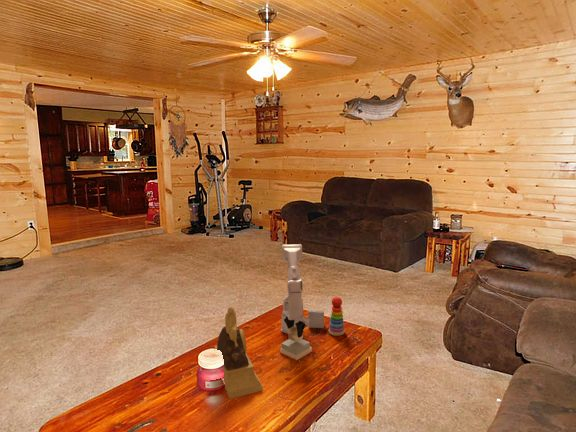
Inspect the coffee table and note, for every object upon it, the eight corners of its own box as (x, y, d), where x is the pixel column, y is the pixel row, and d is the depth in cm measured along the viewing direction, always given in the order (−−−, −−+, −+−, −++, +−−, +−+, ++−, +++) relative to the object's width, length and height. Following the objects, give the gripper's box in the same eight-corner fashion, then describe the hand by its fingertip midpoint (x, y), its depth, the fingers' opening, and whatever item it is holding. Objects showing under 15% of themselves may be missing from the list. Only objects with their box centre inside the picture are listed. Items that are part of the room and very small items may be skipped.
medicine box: (324, 324, 202) (324, 308, 201) (324, 328, 198) (324, 312, 197) (308, 324, 203) (308, 308, 202) (308, 328, 199) (308, 312, 197)
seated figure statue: (262, 390, 148) (260, 316, 143) (229, 399, 143) (225, 322, 138) (242, 355, 174) (240, 291, 169) (213, 361, 169) (210, 295, 164)
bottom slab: (280, 353, 176) (280, 348, 175) (295, 345, 183) (295, 340, 182) (296, 361, 169) (296, 356, 168) (311, 352, 176) (311, 347, 176)
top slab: (281, 348, 175) (281, 343, 175) (294, 341, 182) (294, 336, 181) (296, 355, 169) (296, 349, 169) (309, 347, 176) (309, 342, 175)
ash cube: (288, 338, 174) (288, 328, 174) (295, 334, 178) (295, 325, 177) (296, 341, 171) (295, 332, 171) (302, 338, 175) (302, 328, 174)
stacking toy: (325, 332, 194) (325, 296, 191) (336, 327, 199) (337, 292, 196) (336, 338, 188) (336, 301, 185) (348, 333, 192) (348, 297, 189)
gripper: (277, 304, 174) (277, 333, 176) (301, 313, 164) (302, 343, 167) (287, 300, 179) (288, 327, 181) (312, 308, 169) (312, 337, 172)
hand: (295, 334), depth 174 cm, fingers closed on ash cube, 5 cm apart
